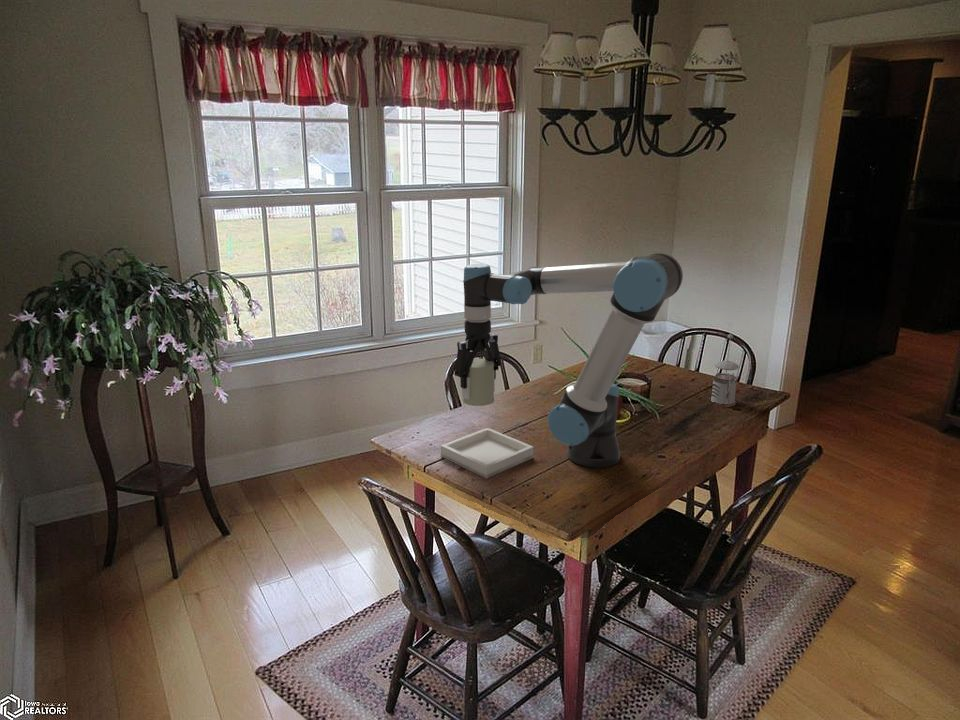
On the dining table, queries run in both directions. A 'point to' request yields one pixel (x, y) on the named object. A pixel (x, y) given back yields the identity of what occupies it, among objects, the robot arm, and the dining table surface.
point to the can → (481, 383)
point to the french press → (724, 382)
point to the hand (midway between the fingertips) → (478, 394)
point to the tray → (487, 452)
